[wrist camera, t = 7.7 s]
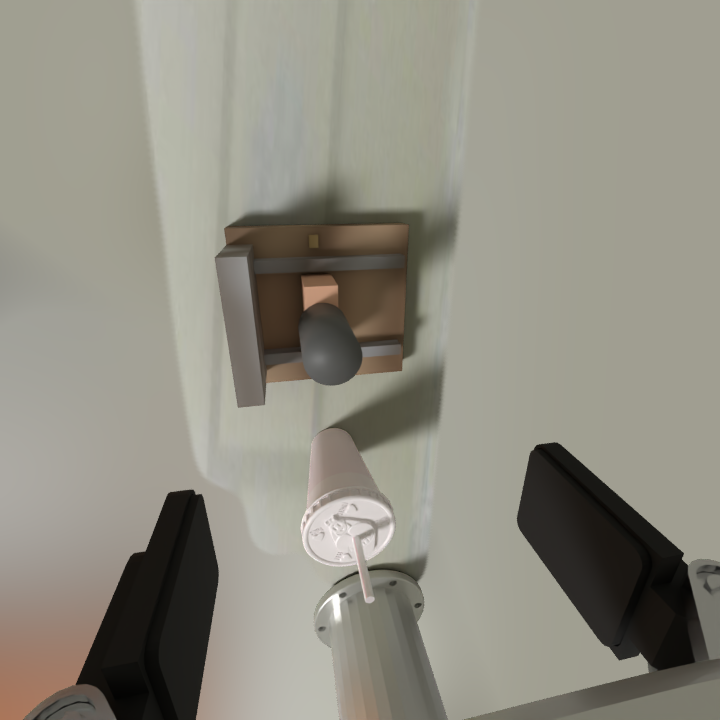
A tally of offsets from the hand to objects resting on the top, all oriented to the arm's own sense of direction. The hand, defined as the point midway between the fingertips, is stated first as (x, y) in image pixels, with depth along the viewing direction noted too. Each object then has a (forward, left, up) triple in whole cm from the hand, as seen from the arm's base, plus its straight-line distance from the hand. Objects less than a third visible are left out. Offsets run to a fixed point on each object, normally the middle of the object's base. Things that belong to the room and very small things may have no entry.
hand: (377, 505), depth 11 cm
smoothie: (-11, +6, -20) cm, 24 cm away
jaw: (0, 0, -18) cm, 18 cm away
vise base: (0, -1, -20) cm, 20 cm away
